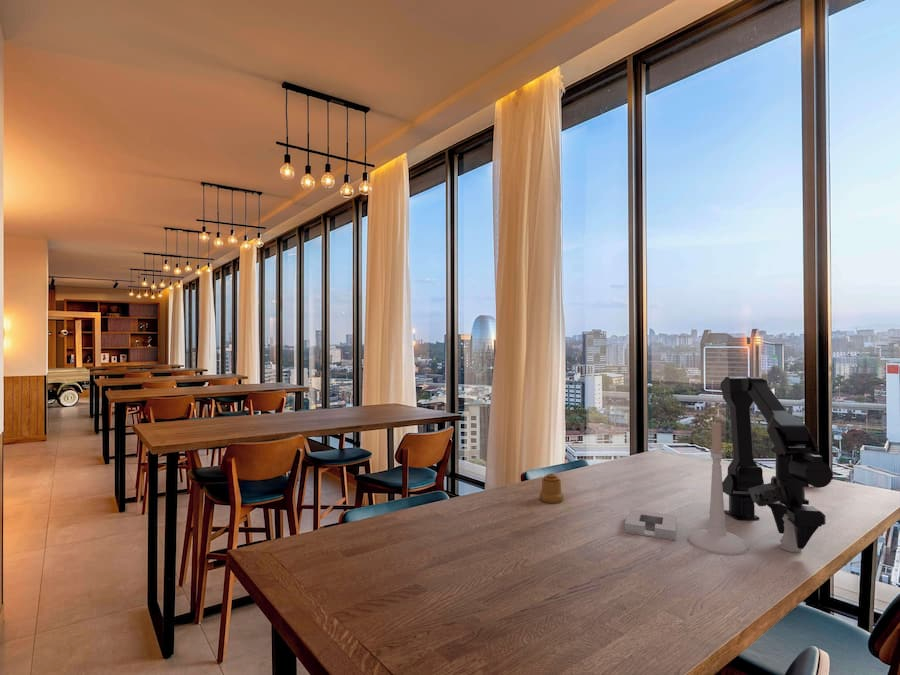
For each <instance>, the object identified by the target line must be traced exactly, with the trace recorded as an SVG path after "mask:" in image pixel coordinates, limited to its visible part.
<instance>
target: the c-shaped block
mask: <svg viewBox="0 0 900 675" xmlns="http://www.w3.org/2000/svg"><path fill="white" fill-rule="evenodd" d="M677 522H678V521H677V515H675V514H669V513H668V514H667V513H659V512H653V511H646V510H639V509H631V508H630V509H629V510H628V513H627V516H626V519H625V522H624V533H627V534H632V535H637V536H638V535H639V536H644V535H645V537H650V536H651V538H656V537H657V539H662V540H668V541H676V540H677V526H678V524H677Z"/></svg>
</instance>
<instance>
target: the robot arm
mask: <svg viewBox="0 0 900 675" xmlns="http://www.w3.org/2000/svg"><path fill="white" fill-rule="evenodd" d="M720 390H721V393H722V398H723V400H724V402H725V403H726V404H727V405H728V407H729V413H730V426H731V427H730V428H731V441H732V460H731V462H729V465H728V467H727V474H726V476H725V478H724V479H723V480H722V485H723V494H726V495H728V510H727V509H724V514H727V515H728V516H730V517H732V518H734V519H735V520H738V521H739V520H740V521H742V520H744V521H745V520H748V521H749V520H760V517H759V516H758V515H755V512H756V510H755V506H756V505H757V506H758V507H766V506H767V507H768V508H770V510H771V512H772V516H773V518H774V522H775V526H776V528H777V531H778V533H779V534H784V525H783V524H784V520H783V519H782V518H783V517H784V514H787V515H788V517H789V518H787V519H788V520H789V521H790V522H791V523H792V524H793V525H794V530H795V537H796V543H797V547H798V548H799V549H802V550H803V549H805V548H806V546H807V544H808V542H809V540H811V538H812V537H813V535H814V534H815V532H816V531H817V530H818V528H819V527H822V526H824V525H826V515H825V513H824V512H822V511H821V510H819V509H817V508H816V507H815V506H812V505H810V500H809V499H807V498H806V488H810V487H809V485H812V486H814V487H813V488H818V489H819V488H820V489H821V488H825V487H827V486H828V485H830V484H831V482H832V480H833V476H834V474H833V471H832V469H831V467H830V465H828V463H825V462H824V460H823V456H822V455H820V454H821V453H820V451H819V446H818V444H817V443H816V441H815V439H814V438H813V435H812V434H811V431H810V429H809V428H808V426H807V425H806V424H805V423H804V422H803V421H802V420H801V419H800V418H799V417H797V416H795V415H793V414H791V413H789V412H788V411H787V410H786V408H785V407H784V405H783V404H782V403H781V401H780V400H779V399H778V397H777V396H776V395H775V393H774V392H773V391H772V389H771V388H770V386H769V384H768V381H767V379H766V378H765V377H762V376H726V377H724V378H723V380H721V381H720ZM753 403H754V404H755V405H756V407H757V409H758V410H759V412H760V413H761V414H762V416H763V418H764V419H765V421H766V422H767V428H766V432H767V434H768V436H769V438H770V439H769V440H771V442H772V443H773V445H774V447H772V448H771V449H770V452H771V453H774V454H775V476H772V477H771V478H770V482H769V483H765V481H764V476H763V474H764V473H763V472H764V471H763V468H762V467H761V466H759V465H758V464H757V462H755V460H754V450H753V437H752V436H753V435H752V423H751V421H752V420H751V407H752V405H753ZM755 504H756V505H755Z"/></svg>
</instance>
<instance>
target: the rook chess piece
mask: <svg viewBox="0 0 900 675" xmlns="http://www.w3.org/2000/svg"><path fill="white" fill-rule="evenodd" d="M787 518H789V517H788V515H787V514H784V517H783V518H782V519H783V520H784V524H783V525H784V533H783V535H782V536H781V538H780V540H779V542H780V544H779V547H780V548H781V549H782V550H783V551H786V552H789V553H800V552H802V550H803V549H799V548H798V547H797V543H796V537H795V530H794V525H793V524H792V523H791V522H790V521H789V520H788V519H787Z"/></svg>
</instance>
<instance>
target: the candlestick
mask: <svg viewBox="0 0 900 675" xmlns="http://www.w3.org/2000/svg"><path fill="white" fill-rule="evenodd" d="M708 451H709V452H710V458H711V459H712V464H711V483H710V504H709V505H710V507H709V519H708V520H709V522H708V525H709V526H708V528H702V529H701V528H700V529H697V530H694V531H692V532H690V533H689V534H688V537H687V538H688V539H687V540H688V541H689V543H692V544H691V545H693V546H694V545H695V546H694V547H696V546H697V548H698V547H699V548H698V549H700V548H701V550H703V551H706V552H709V551H710V553H714V554H719V555H725V556H727V555H728V556H732V555H733V556H735V555H742V554H745V553H747V552H748V549H749V546H748V544H747V543H746V542H745V541H744V540H743V539H742V538H741V537H739V536H738V535H735V534H734V533H731V532H728V531H727V530H726V518H725V517H726V516H725V512H724V510H725V506H724V505H725V504H724V492H723V485H722V482H723V473H722V470H723V469H722V464H721V463H722V462H721V460H722V459H723V458H724V456H723V454H724V453H725V452H726V450H723V449H722V423H720V422H719V423H718V422H717V421H715V422H712V423H711V448H709V449H708Z"/></svg>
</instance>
